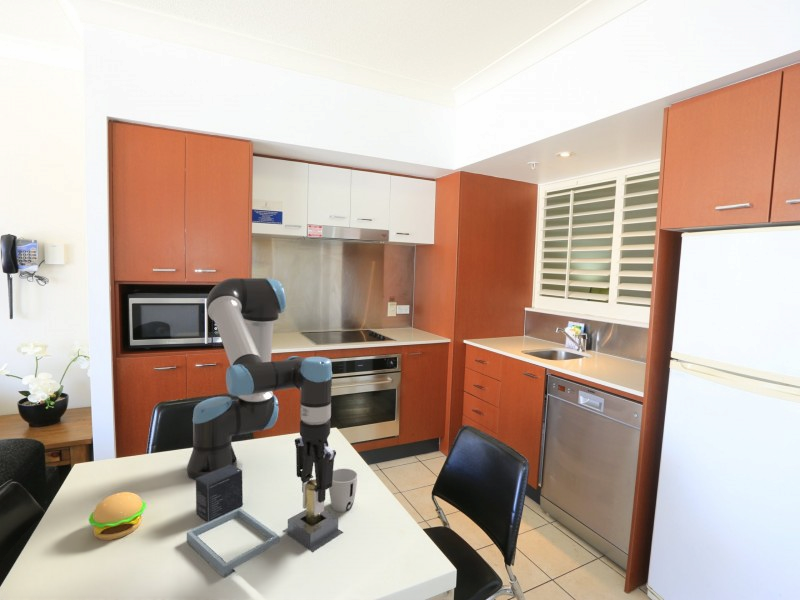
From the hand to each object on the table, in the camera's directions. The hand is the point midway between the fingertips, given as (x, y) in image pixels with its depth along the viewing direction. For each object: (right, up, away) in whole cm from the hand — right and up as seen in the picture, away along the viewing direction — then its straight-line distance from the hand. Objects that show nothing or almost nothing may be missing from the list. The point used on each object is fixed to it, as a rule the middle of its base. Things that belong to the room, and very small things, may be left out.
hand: (313, 509), depth 104 cm
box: (-28, -6, +10) cm, 30 cm away
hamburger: (-50, -5, 0) cm, 50 cm away
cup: (+6, -7, +12) cm, 15 cm away
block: (0, -7, 0) cm, 7 cm away
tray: (-19, -7, -4) cm, 20 cm away
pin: (0, -5, 0) cm, 5 cm away
